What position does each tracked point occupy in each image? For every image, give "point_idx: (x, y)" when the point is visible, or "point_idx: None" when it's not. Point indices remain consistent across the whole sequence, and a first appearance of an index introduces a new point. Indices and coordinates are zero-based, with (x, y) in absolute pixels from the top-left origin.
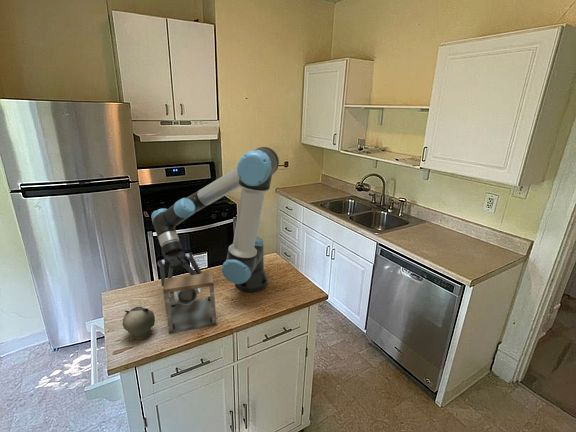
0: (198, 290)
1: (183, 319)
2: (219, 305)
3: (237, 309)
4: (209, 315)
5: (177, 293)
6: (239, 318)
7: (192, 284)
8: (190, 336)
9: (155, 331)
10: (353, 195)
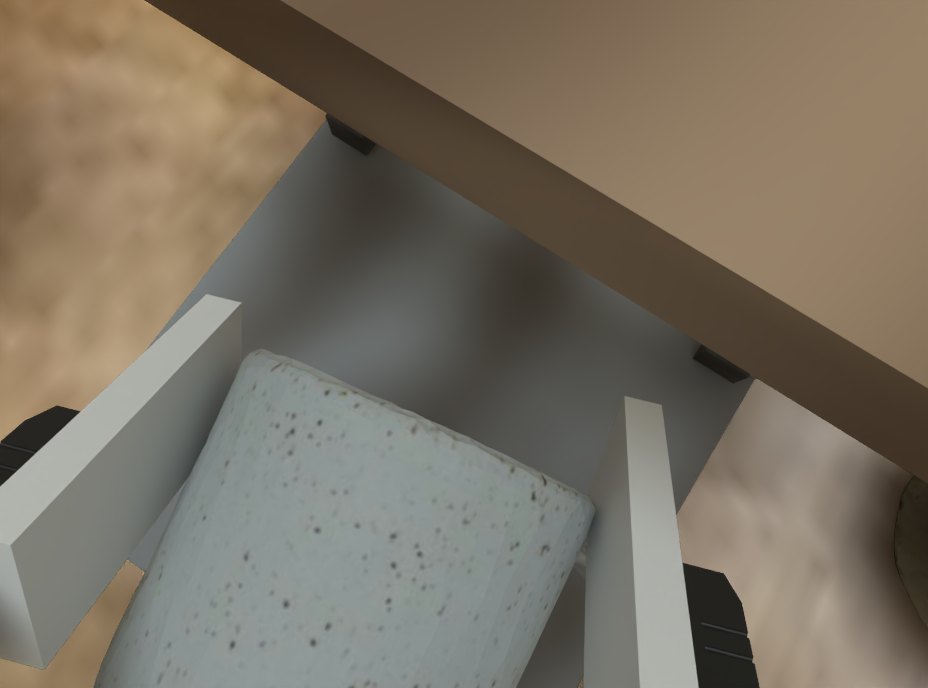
0: (221, 322)
1: (557, 389)
2: (94, 339)
3: (39, 134)
4: (320, 225)
5: (576, 534)
6: (146, 18)
7: None
8: None
9: (848, 496)
10: None
